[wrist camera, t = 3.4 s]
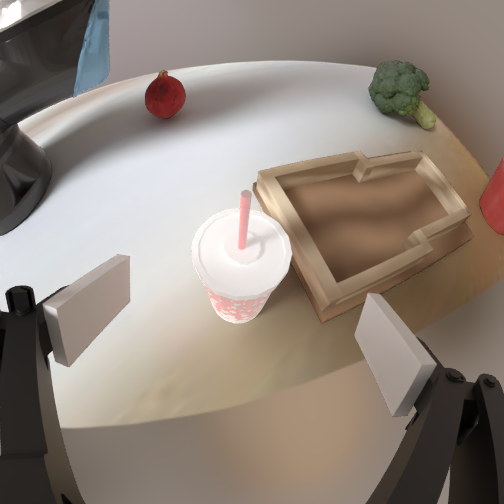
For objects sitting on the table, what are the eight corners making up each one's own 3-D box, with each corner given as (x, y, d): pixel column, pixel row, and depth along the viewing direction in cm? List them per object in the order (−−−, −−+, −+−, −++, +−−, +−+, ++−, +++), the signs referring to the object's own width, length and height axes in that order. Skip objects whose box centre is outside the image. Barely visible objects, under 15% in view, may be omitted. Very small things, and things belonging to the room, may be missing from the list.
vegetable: (439, 146, 37) (381, 80, 33) (396, 145, 49) (344, 95, 45) (460, 102, 35) (409, 39, 31) (419, 106, 47) (372, 57, 43)
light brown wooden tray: (252, 190, 31) (255, 165, 28) (407, 156, 37) (417, 139, 34) (321, 323, 24) (336, 310, 21) (469, 240, 31) (484, 225, 27)
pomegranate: (183, 128, 36) (178, 79, 29) (144, 129, 36) (134, 83, 29) (190, 106, 39) (187, 62, 32) (154, 108, 38) (147, 65, 31)
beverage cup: (233, 346, 23) (236, 282, 11) (189, 293, 25) (155, 187, 13) (286, 302, 25) (338, 205, 13) (242, 255, 27) (253, 136, 15)
